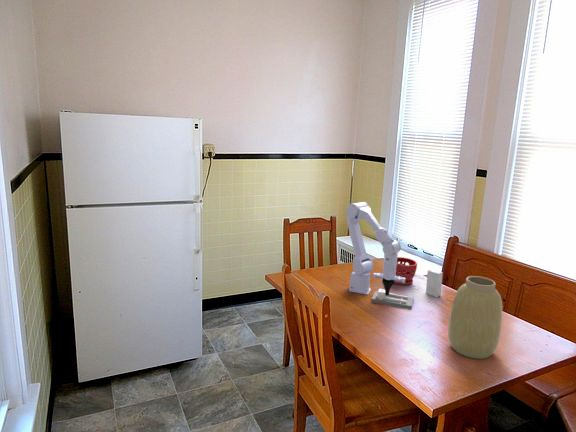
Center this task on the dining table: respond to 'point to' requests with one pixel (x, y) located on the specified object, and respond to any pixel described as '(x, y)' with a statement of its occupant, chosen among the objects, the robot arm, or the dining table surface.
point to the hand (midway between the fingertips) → (387, 294)
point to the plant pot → (405, 270)
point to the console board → (393, 300)
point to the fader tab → (381, 292)
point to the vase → (476, 318)
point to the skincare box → (434, 282)
